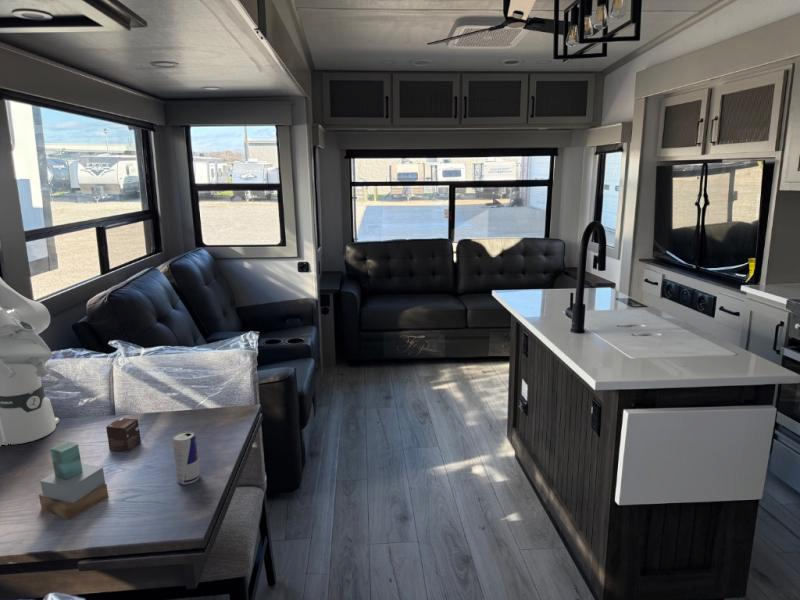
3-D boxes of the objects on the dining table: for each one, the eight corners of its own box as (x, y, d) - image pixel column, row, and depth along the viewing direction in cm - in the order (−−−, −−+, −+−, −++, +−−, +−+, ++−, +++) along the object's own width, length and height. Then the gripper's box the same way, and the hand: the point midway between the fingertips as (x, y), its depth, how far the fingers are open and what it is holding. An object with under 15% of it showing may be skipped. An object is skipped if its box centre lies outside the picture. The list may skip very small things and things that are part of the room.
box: (127, 452, 157) (124, 428, 155) (108, 451, 158) (105, 426, 156) (141, 442, 162) (138, 418, 161) (123, 440, 164) (119, 417, 162)
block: (55, 476, 131) (50, 448, 129) (71, 468, 134) (66, 441, 132) (66, 479, 129) (61, 452, 127) (82, 471, 132) (78, 444, 131)
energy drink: (204, 477, 143) (199, 433, 141) (187, 487, 139) (182, 442, 136) (190, 471, 146) (185, 429, 143) (172, 481, 142) (167, 437, 139)
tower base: (41, 510, 131) (38, 494, 130) (82, 488, 140) (80, 473, 139) (68, 521, 127) (65, 505, 126) (108, 498, 135) (106, 483, 134)
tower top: (43, 496, 130) (40, 480, 129) (76, 476, 138) (74, 461, 137) (72, 503, 127) (70, 487, 126) (105, 482, 135) (102, 467, 134)
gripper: (-35, 320, 123) (0, 367, 120) (38, 325, 143) (69, 365, 141) (-55, 339, 123) (-21, 387, 121) (20, 342, 143) (51, 383, 141)
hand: (28, 375), depth 131 cm, fingers open, 8 cm apart
